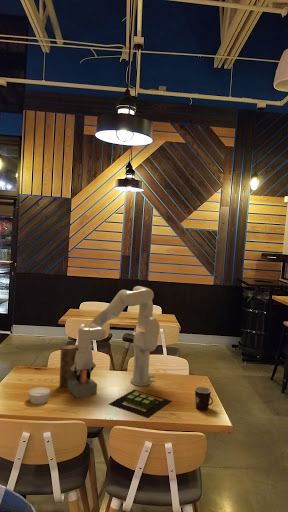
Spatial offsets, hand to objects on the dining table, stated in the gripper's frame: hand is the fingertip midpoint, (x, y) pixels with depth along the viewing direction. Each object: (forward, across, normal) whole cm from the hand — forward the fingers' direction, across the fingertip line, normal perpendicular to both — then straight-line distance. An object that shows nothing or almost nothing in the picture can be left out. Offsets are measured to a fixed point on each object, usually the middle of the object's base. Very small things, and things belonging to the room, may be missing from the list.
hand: (83, 379), depth 215 cm
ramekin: (+7, +25, 0) cm, 26 cm away
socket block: (+7, 0, -1) cm, 7 cm away
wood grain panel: (+7, 0, -10) cm, 12 cm away
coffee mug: (+7, -48, +49) cm, 69 cm away
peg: (+6, 0, 0) cm, 6 cm away
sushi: (+8, -22, +27) cm, 36 cm away
